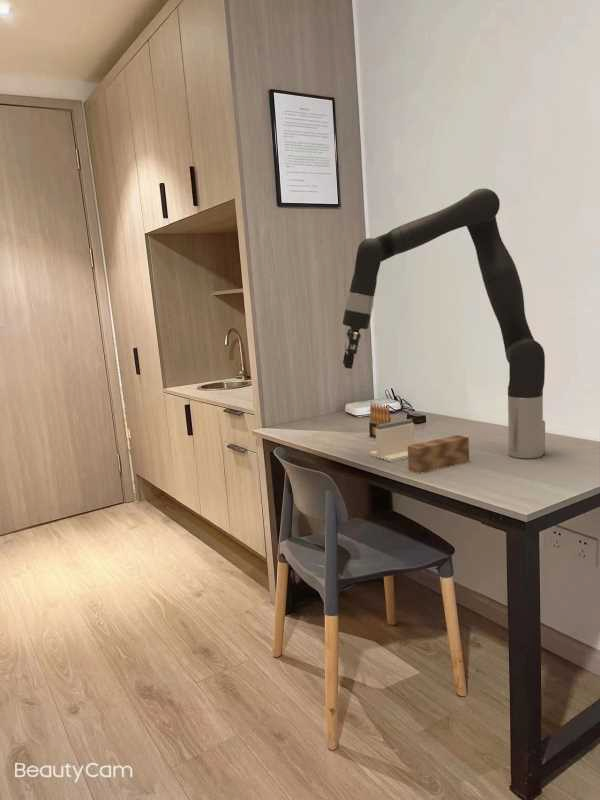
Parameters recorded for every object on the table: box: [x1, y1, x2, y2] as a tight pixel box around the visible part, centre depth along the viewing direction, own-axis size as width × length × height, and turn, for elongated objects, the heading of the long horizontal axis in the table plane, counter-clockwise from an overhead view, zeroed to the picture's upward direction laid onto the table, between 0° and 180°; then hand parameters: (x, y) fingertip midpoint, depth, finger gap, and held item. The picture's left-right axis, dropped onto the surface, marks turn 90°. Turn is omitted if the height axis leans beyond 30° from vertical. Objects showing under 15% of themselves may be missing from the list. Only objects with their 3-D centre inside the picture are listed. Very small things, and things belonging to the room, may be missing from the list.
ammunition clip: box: [368, 402, 392, 439], centre depth 206 cm, size 11×2×12 cm, turn 30°
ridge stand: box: [368, 418, 416, 463], centre depth 184 cm, size 12×11×10 cm
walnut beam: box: [407, 434, 470, 474], centre depth 171 cm, size 18×4×7 cm, turn 119°
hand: (347, 366), depth 177 cm, fingers open, 8 cm apart
